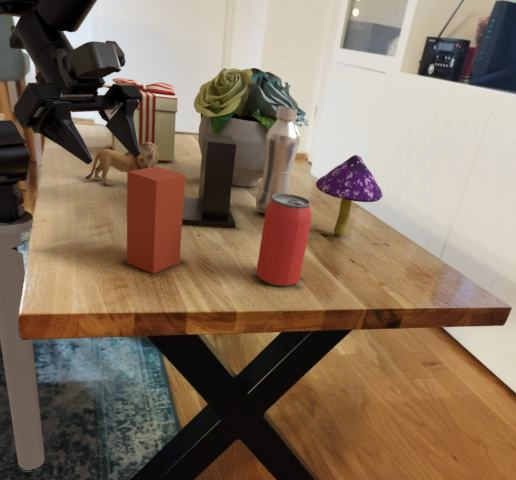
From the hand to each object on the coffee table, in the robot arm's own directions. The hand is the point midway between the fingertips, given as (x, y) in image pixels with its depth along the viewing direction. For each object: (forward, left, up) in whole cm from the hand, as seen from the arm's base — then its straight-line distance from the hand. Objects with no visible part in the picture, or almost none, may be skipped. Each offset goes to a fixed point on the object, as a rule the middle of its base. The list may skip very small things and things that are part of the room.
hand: (115, 158), depth 71 cm
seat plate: (+8, +21, -13) cm, 26 cm away
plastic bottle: (+25, +28, -13) cm, 40 cm away
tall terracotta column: (+6, -4, -13) cm, 15 cm away
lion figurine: (-6, +35, -13) cm, 38 cm away
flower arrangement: (+18, +50, -13) cm, 55 cm away
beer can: (+25, -4, -13) cm, 29 cm away
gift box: (-9, +66, -13) cm, 68 cm away
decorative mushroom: (+38, +20, -13) cm, 45 cm away
